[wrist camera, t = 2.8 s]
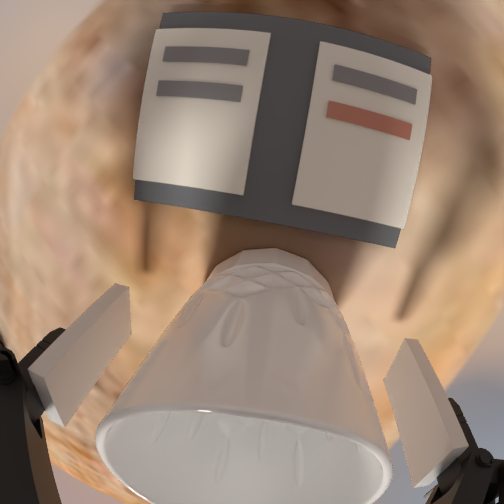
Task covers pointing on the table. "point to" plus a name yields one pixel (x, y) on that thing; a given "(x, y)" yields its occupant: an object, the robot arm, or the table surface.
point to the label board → (282, 123)
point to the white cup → (250, 397)
